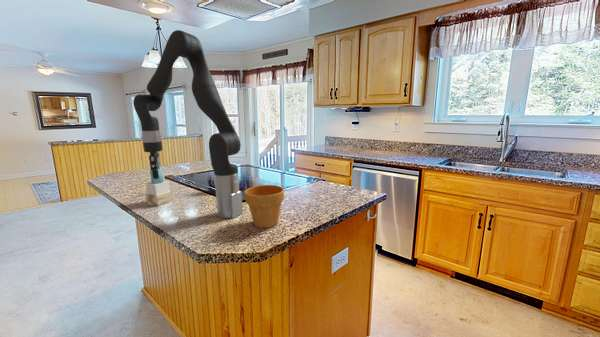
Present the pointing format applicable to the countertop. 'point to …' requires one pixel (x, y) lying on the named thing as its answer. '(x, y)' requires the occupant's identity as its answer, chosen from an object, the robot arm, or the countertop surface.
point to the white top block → (158, 188)
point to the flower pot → (265, 204)
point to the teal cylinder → (160, 179)
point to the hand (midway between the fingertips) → (156, 176)
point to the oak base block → (159, 199)
